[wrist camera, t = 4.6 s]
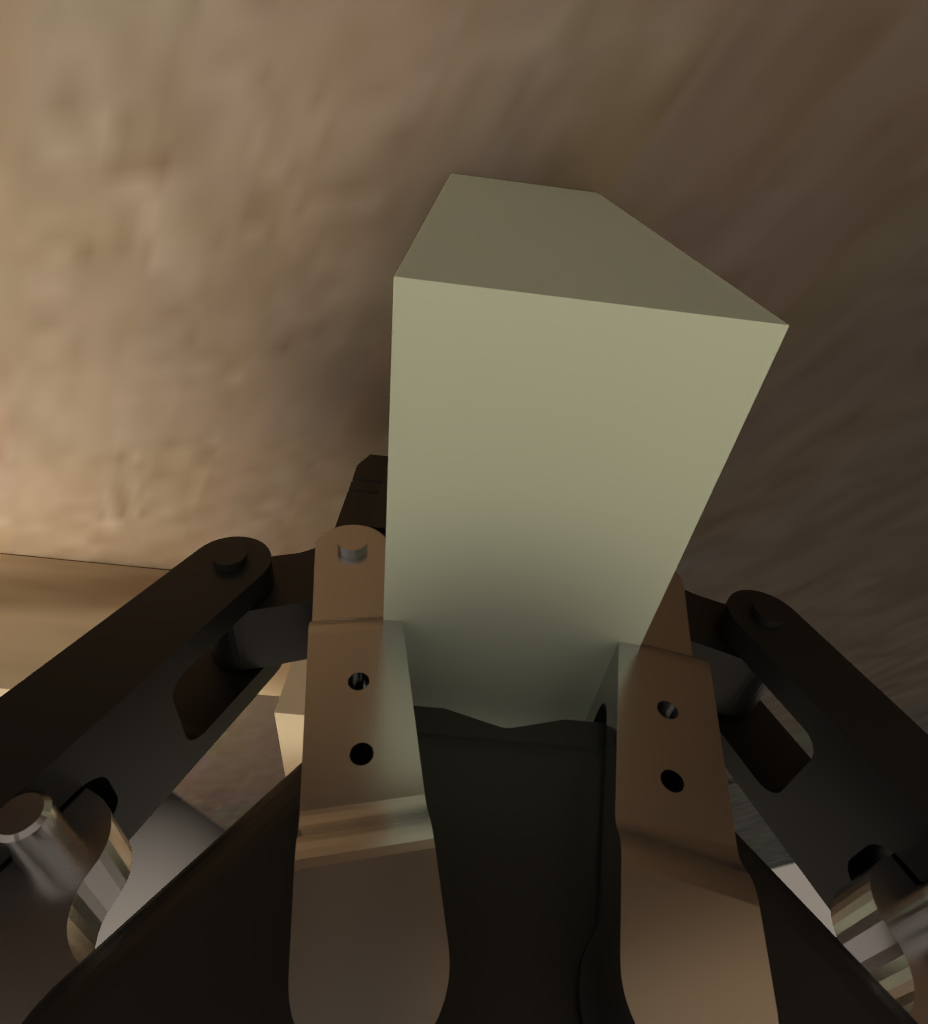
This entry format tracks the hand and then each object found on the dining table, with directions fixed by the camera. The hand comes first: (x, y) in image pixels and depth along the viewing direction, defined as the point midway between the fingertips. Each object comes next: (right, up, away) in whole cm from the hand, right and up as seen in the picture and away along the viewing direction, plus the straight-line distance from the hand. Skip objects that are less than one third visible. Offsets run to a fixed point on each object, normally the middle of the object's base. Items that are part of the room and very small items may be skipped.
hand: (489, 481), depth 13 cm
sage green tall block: (0, +2, +3) cm, 4 cm away
